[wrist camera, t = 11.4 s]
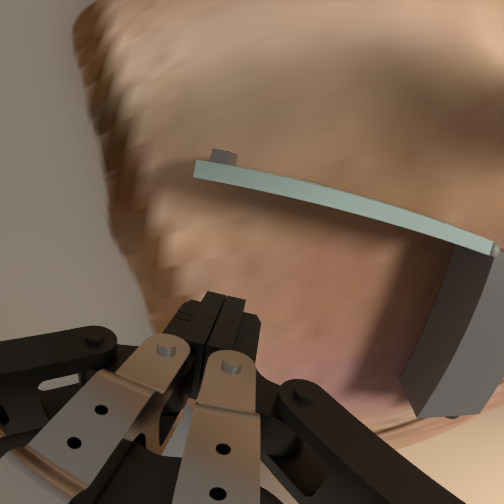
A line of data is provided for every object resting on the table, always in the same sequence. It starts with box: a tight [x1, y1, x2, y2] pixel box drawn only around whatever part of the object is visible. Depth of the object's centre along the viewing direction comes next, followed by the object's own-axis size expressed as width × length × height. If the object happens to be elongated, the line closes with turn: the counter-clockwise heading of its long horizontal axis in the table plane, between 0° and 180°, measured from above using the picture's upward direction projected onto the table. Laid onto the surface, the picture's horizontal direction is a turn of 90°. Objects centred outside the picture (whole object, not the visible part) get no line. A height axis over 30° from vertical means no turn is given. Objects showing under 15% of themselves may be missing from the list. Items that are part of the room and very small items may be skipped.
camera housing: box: [399, 244, 504, 419], centre depth 22 cm, size 17×9×7 cm, turn 169°
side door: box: [193, 149, 500, 257], centre depth 19 cm, size 21×2×6 cm, turn 78°
